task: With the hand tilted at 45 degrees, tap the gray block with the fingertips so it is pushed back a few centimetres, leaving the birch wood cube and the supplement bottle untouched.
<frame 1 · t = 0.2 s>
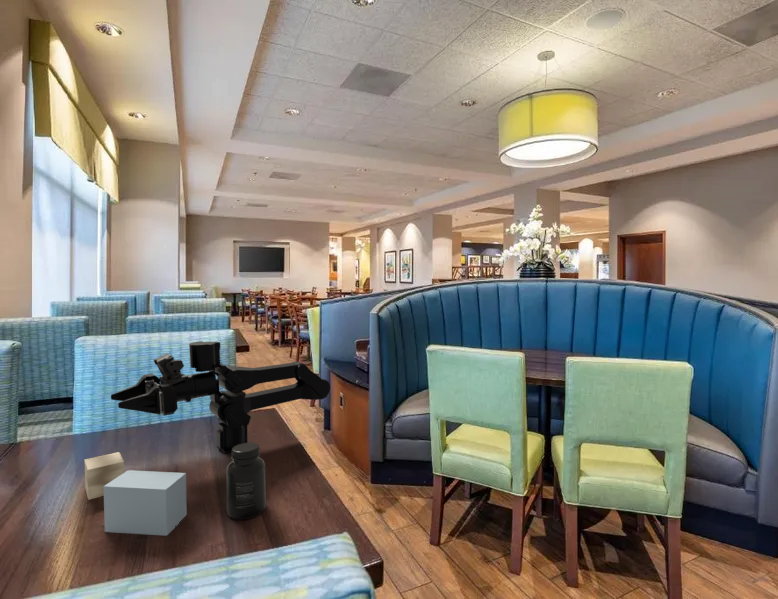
hand: (114, 401, 91), 16 cm above the table, tool horizontal, fingers open, 9 cm apart
supplement bottle: (246, 511, 79), on the table
gray block: (147, 524, 75), on the table
birch cube: (104, 489, 86), on the table
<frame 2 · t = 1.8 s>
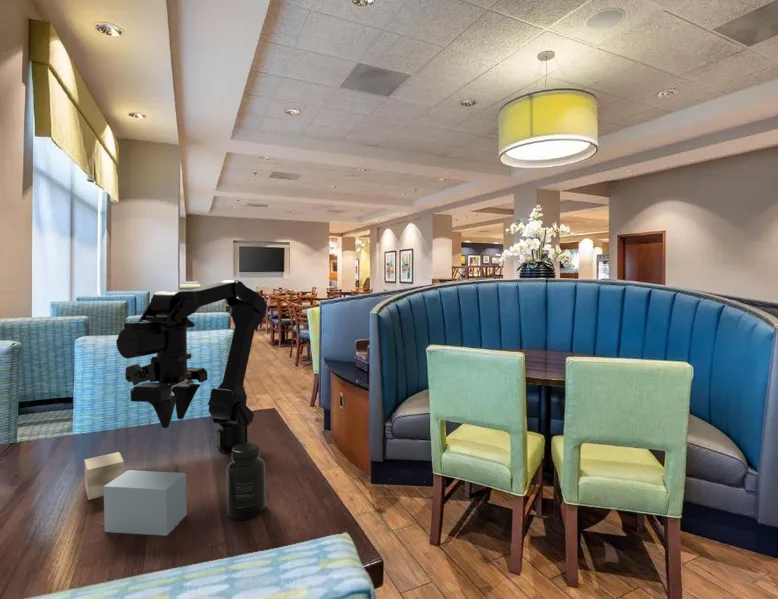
hand: (173, 423, 91), 12 cm above the table, tool pointing down, fingers open, 5 cm apart
nothing on the table moved.
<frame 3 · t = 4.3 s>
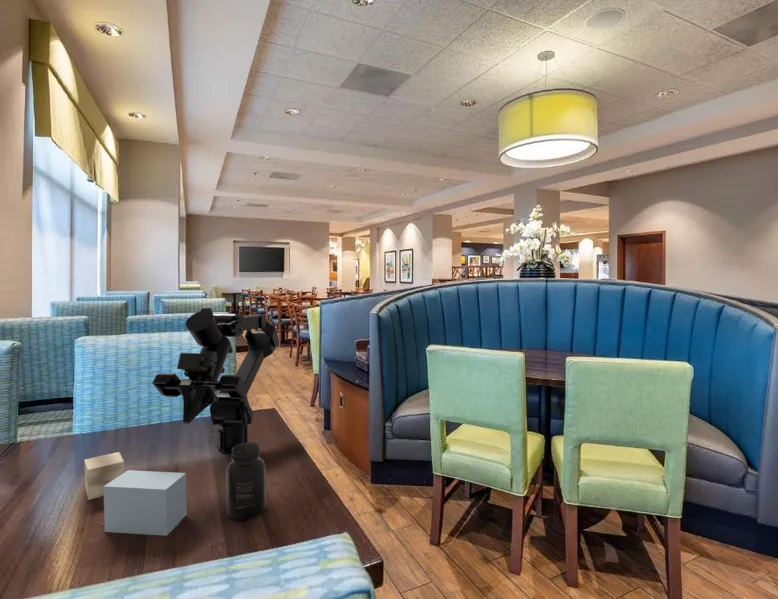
hand: (185, 422, 86), 14 cm above the table, tool tilted 45°, fingers closed
nothing on the table moved.
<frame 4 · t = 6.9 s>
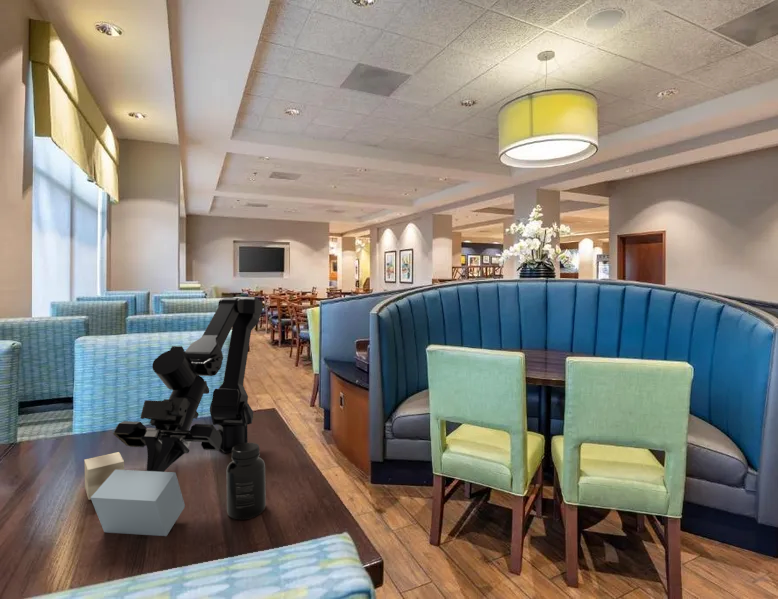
hand: (149, 481, 75), 7 cm above the table, tool tilted 45°, fingers closed
gray block: (146, 519, 74), point 1 cm above the table, tilted 20°
everything else where it was.
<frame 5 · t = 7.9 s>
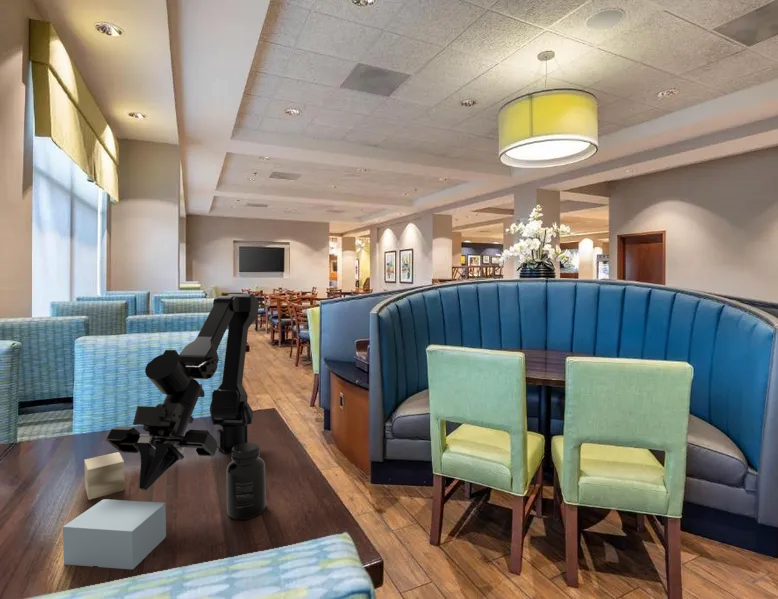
hand: (142, 489, 73), 7 cm above the table, tool tilted 45°, fingers closed
gray block: (134, 518, 71), point 3 cm above the table, tilted 90°
everything else where it was.
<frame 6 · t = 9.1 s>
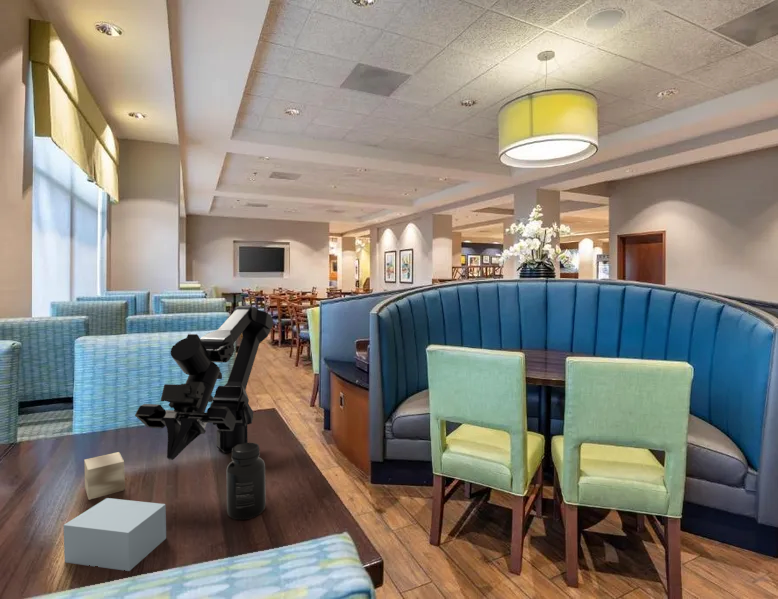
hand: (169, 459, 81), 8 cm above the table, tool tilted 45°, fingers closed
nothing on the table moved.
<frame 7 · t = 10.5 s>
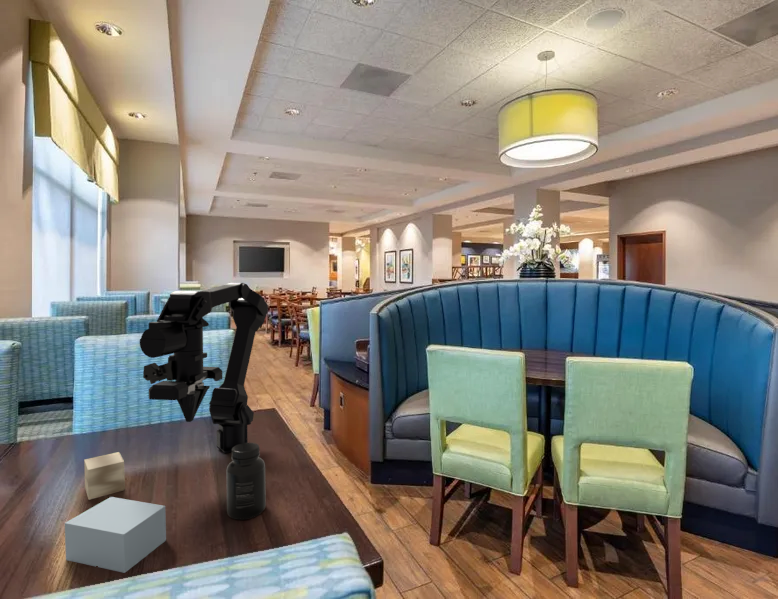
hand: (189, 421, 92), 12 cm above the table, tool pointing down, fingers closed
nothing on the table moved.
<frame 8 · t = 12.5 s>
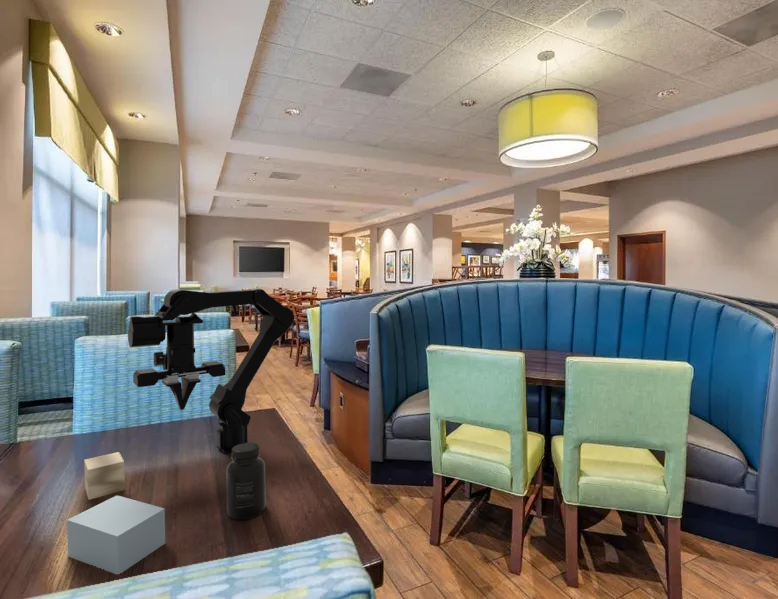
hand: (181, 409, 100), 12 cm above the table, tool pointing down, fingers closed
nothing on the table moved.
at the end: gray block moved 4.5 cm from its start; birch cube moved 0.1 cm from its start; supplement bottle moved 0.2 cm from its start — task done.
